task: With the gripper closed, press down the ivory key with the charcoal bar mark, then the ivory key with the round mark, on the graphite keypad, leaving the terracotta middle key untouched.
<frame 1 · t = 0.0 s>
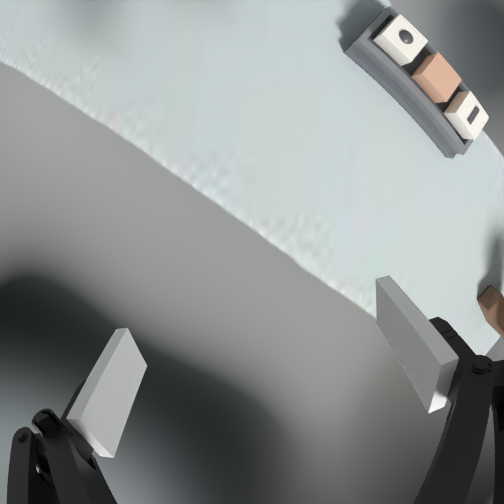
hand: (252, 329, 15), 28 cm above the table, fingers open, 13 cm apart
dot key: (401, 39, 28), point 5 cm above the table, slide at 0.0 cm
keypad: (418, 82, 34), on the table
bar key: (467, 115, 31), point 5 cm above the table, slide at 0.0 cm
blank key: (437, 77, 29), point 5 cm above the table, slide at 0.0 cm
wooden block: (487, 303, 48), on the table
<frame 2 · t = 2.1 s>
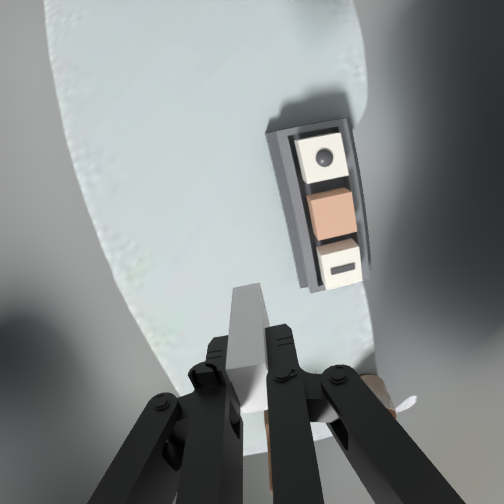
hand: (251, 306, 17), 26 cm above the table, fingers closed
dot key: (321, 157, 33), point 5 cm above the table, slide at 0.0 cm
keypad: (322, 203, 41), on the table
bar key: (339, 264, 39), point 5 cm above the table, slide at 0.0 cm
blank key: (331, 213, 36), point 5 cm above the table, slide at 0.0 cm
wooden block: (276, 417, 58), on the table
planter: (358, 390, 56), on the table
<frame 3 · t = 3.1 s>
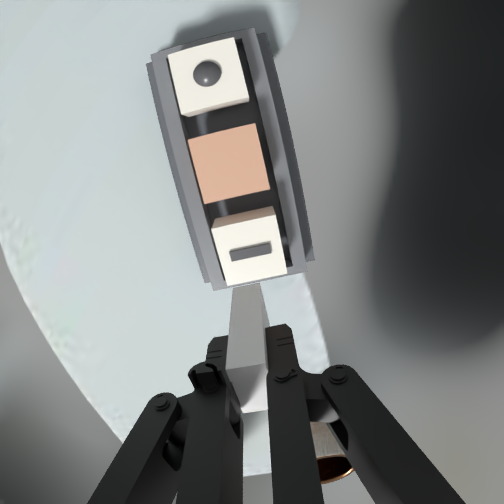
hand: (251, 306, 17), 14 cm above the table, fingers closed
dot key: (209, 77, 20), point 5 cm above the table, slide at 0.0 cm
keypad: (233, 157, 27), on the table
bar key: (250, 245, 25), point 5 cm above the table, slide at 0.0 cm
blank key: (230, 162, 23), point 5 cm above the table, slide at 0.0 cm
planter: (313, 422, 42), on the table
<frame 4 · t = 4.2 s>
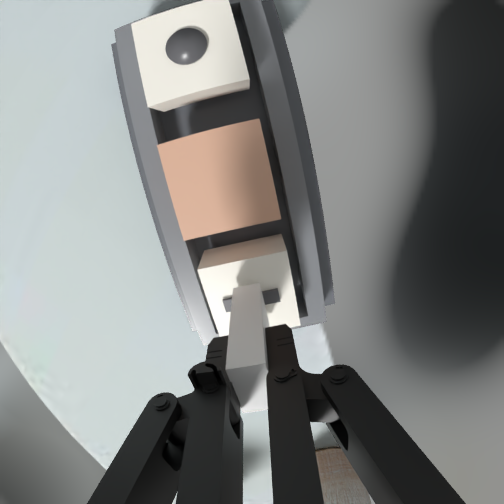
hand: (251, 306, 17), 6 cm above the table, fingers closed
dot key: (191, 53, 13), point 5 cm above the table, slide at 0.0 cm
keypad: (228, 168, 20), on the table
bar key: (251, 288, 19), point 4 cm above the table, slide at 0.8 cm, touching gripper
blank key: (221, 177, 16), point 5 cm above the table, slide at 0.0 cm
planter: (321, 462, 35), on the table
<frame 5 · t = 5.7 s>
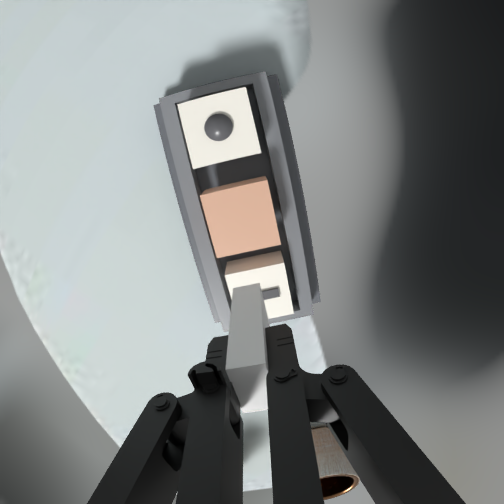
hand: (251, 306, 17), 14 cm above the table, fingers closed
dot key: (220, 128, 21), point 5 cm above the table, slide at 0.0 cm
keypad: (242, 203, 29), on the table
bar key: (260, 287, 27), point 4 cm above the table, slide at 1.1 cm
blank key: (241, 215, 24), point 5 cm above the table, slide at 0.0 cm
planter: (316, 442, 42), on the table
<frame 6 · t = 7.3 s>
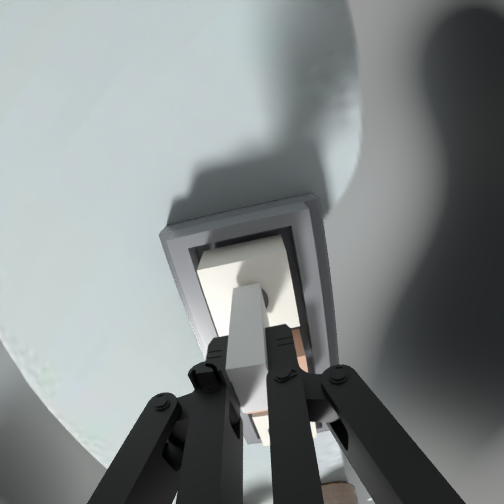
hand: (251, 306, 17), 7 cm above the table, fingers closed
dot key: (250, 288, 19), point 5 cm above the table, slide at 0.5 cm, touching gripper
keypad: (268, 333, 25), on the table
bar key: (285, 416, 24), point 4 cm above the table, slide at 1.1 cm
blank key: (272, 373, 21), point 5 cm above the table, slide at 0.0 cm
planter: (324, 491, 40), on the table
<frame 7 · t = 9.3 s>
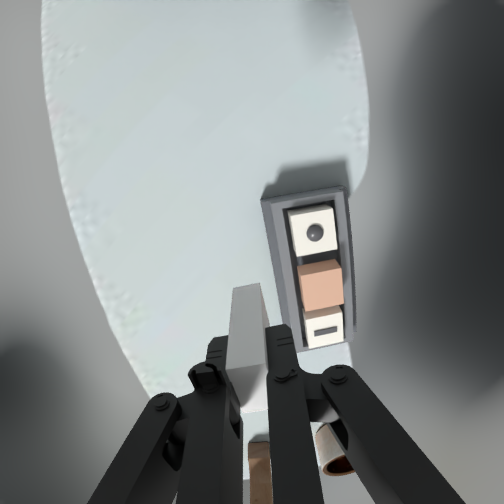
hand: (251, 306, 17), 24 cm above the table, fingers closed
dot key: (312, 229, 36), point 4 cm above the table, slide at 1.2 cm
keypad: (312, 269, 42), on the table
bar key: (323, 325, 41), point 4 cm above the table, slide at 1.1 cm
blank key: (320, 285, 37), point 5 cm above the table, slide at 0.0 cm
wooden block: (259, 451, 58), on the table
planter: (338, 430, 56), on the table
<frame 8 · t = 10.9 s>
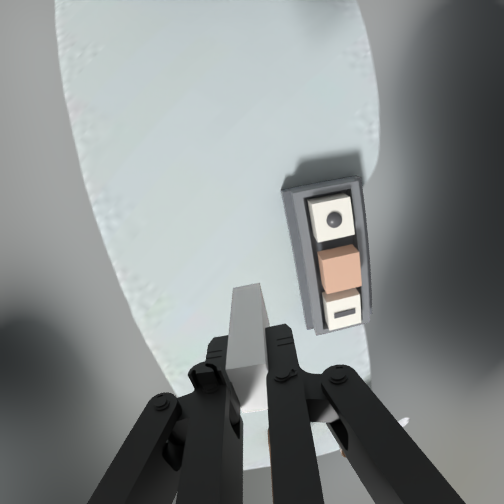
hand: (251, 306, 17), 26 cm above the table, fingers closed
dot key: (331, 217, 38), point 4 cm above the table, slide at 1.2 cm
keypad: (330, 254, 44), on the table
bar key: (342, 308, 43), point 4 cm above the table, slide at 1.1 cm
blank key: (339, 268, 40), point 5 cm above the table, slide at 0.0 cm
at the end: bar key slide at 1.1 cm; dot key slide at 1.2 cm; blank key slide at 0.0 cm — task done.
